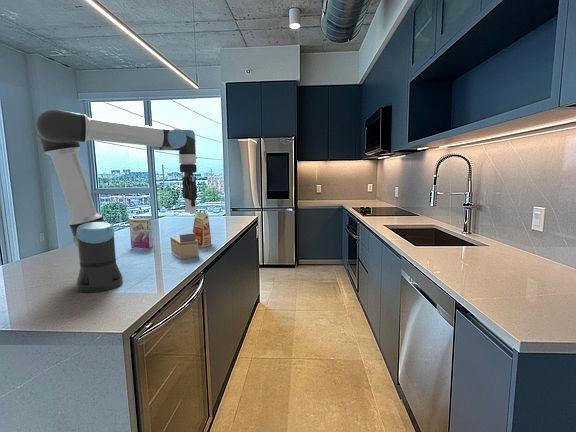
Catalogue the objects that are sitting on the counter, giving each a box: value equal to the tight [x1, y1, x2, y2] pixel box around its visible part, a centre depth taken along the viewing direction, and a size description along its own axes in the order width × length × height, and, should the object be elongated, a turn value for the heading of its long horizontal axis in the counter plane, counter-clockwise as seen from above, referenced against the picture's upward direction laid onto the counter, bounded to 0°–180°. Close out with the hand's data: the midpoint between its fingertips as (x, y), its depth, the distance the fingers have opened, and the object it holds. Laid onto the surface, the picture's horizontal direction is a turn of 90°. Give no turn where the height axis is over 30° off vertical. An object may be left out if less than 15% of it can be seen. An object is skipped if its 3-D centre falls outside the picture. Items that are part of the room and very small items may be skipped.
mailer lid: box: [170, 232, 198, 245], centre depth 167 cm, size 9×18×5 cm, turn 34°
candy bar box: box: [129, 218, 154, 249], centre depth 186 cm, size 11×5×16 cm, turn 84°
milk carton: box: [192, 210, 212, 248], centre depth 189 cm, size 9×9×20 cm
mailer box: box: [170, 238, 200, 260], centre depth 168 cm, size 9×18×7 cm, turn 34°
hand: (190, 212), depth 154 cm, fingers open, 7 cm apart
